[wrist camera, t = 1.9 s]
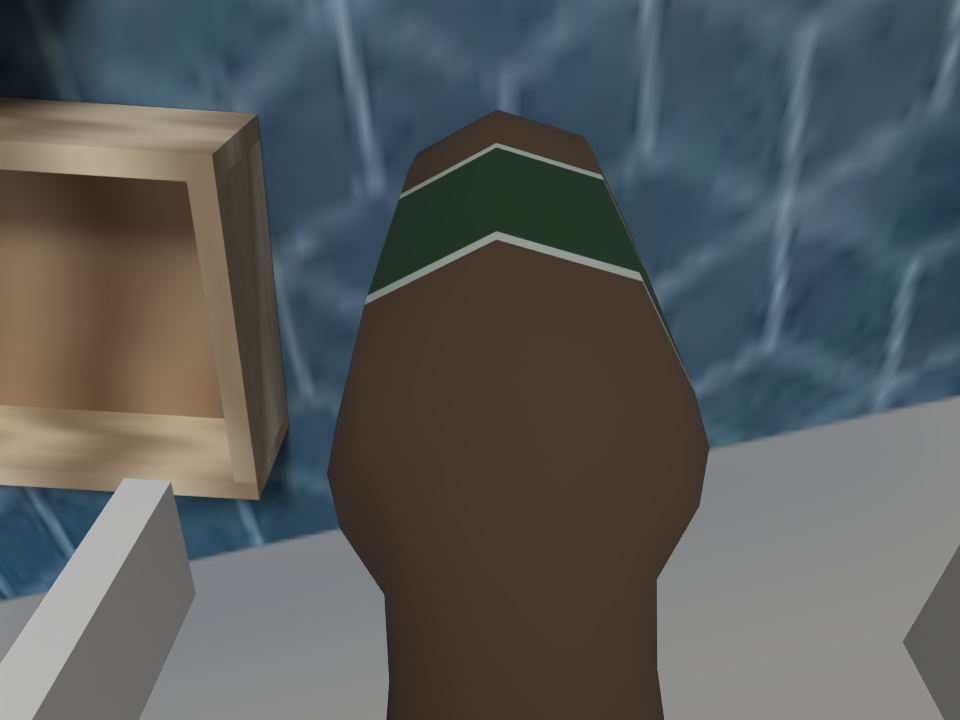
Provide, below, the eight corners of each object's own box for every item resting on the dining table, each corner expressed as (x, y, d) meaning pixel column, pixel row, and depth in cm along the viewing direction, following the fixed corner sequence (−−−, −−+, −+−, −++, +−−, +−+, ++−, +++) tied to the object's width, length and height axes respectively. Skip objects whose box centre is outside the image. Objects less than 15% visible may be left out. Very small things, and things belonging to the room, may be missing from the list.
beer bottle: (620, 309, 27) (1005, 1573, 7) (412, 326, 27) (171, 1538, 7) (620, 90, 23) (1659, 1665, 2) (375, 115, 23) (-451, 1568, 3)
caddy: (-19, 407, 30) (-93, 479, 26) (-140, 87, 23) (-262, 123, 19) (288, 425, 30) (259, 500, 26) (257, 114, 23) (211, 154, 20)
